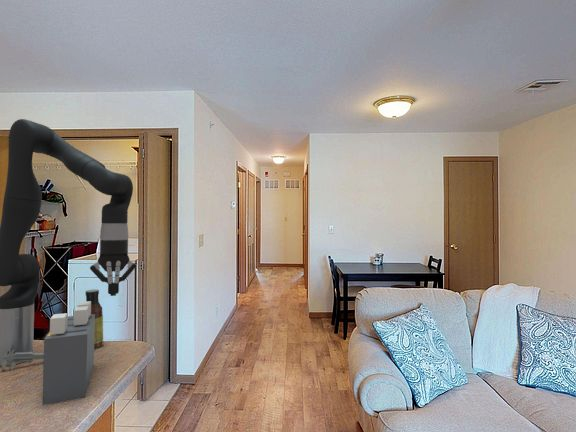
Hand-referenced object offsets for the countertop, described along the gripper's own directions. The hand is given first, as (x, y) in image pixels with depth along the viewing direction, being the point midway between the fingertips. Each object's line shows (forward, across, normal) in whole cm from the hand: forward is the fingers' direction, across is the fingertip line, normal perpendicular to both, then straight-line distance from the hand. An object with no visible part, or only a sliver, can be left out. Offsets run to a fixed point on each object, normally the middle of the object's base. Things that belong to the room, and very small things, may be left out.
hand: (113, 295), depth 100 cm
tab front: (+6, +12, +12) cm, 18 cm away
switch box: (+22, +10, +6) cm, 25 cm away
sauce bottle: (+22, +7, -21) cm, 31 cm away
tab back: (+6, +8, 0) cm, 9 cm away
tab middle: (+6, +8, +6) cm, 11 cm away
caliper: (+22, +19, -12) cm, 32 cm away
